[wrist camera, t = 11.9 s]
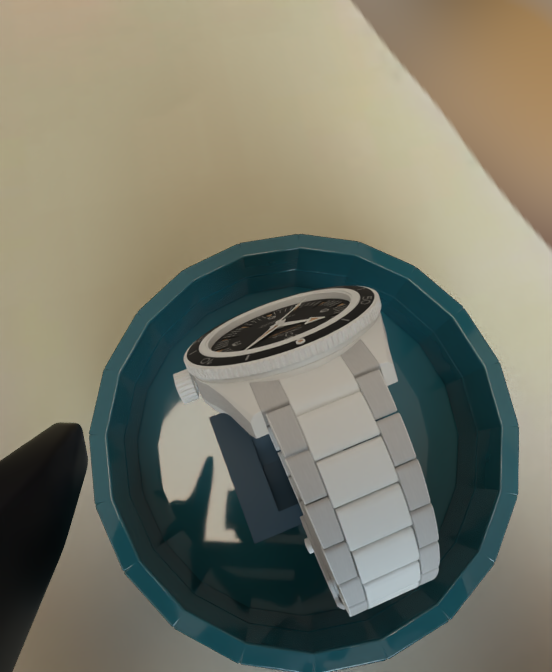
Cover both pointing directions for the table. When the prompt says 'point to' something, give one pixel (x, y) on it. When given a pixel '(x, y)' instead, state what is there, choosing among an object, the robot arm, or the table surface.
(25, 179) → the table surface
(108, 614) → the table surface
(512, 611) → the table surface
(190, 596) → the bowl
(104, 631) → the table surface
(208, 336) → the watch
